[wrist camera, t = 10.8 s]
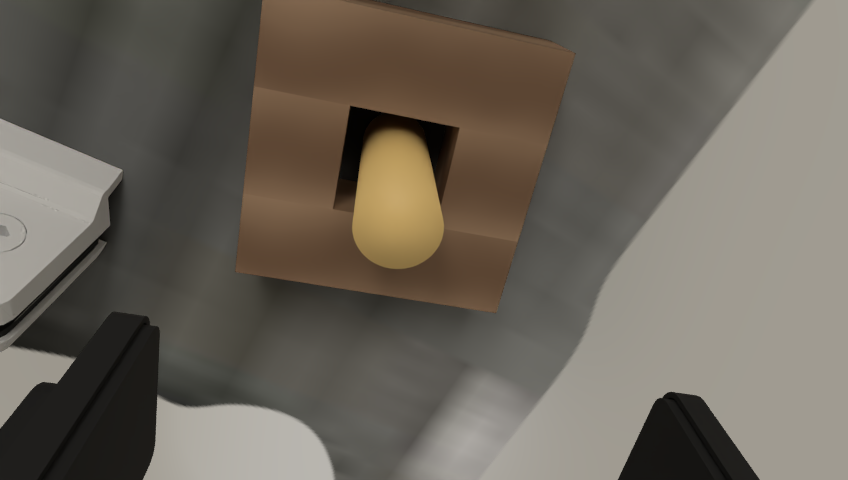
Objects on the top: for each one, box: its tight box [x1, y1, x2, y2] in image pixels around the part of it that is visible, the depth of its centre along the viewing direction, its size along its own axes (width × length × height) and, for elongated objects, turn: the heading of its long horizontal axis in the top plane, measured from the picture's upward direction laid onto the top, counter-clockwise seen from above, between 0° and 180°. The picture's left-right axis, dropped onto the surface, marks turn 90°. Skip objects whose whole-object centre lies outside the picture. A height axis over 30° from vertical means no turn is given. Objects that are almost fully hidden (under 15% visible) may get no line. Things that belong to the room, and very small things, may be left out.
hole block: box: [235, 0, 576, 313], centre depth 27 cm, size 12×12×4 cm
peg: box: [352, 113, 444, 269], centre depth 24 cm, size 3×3×10 cm
